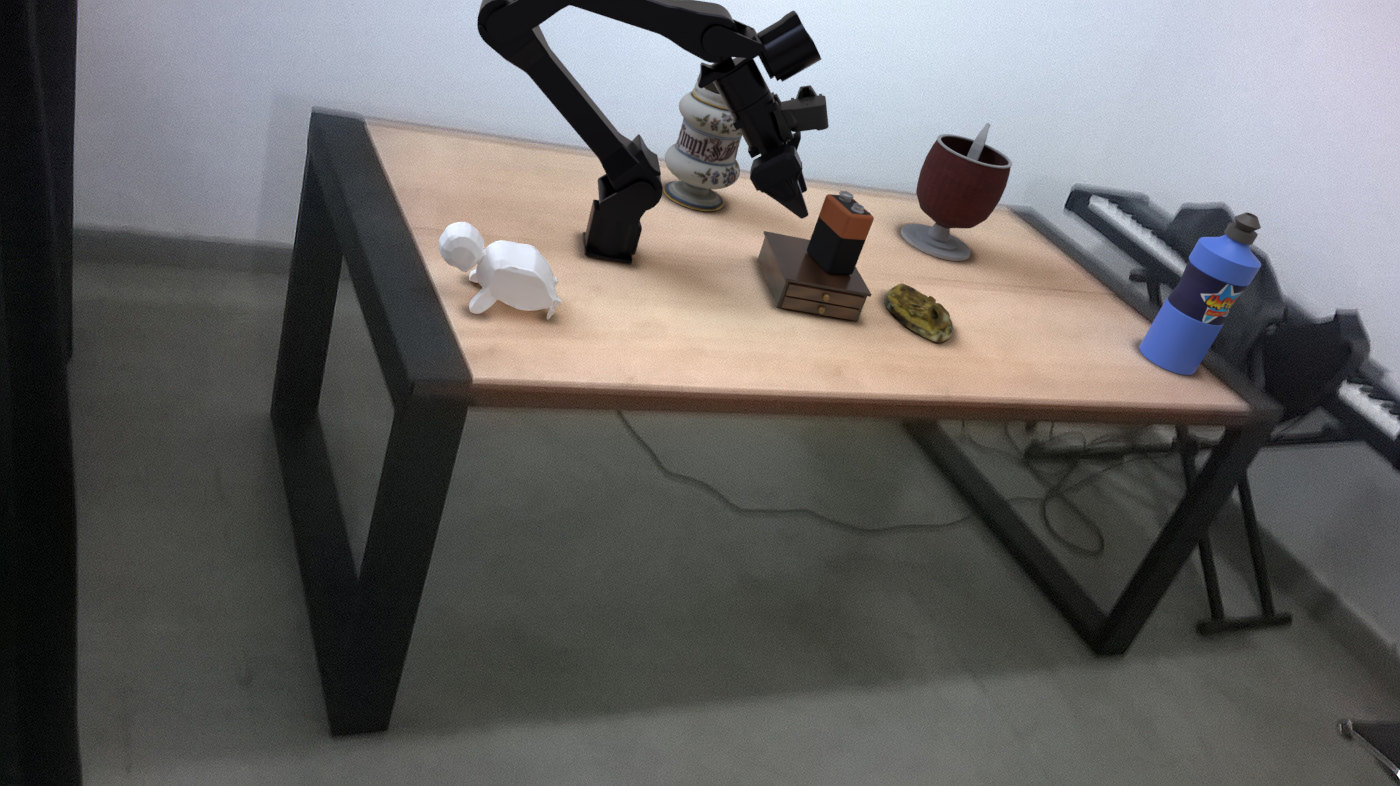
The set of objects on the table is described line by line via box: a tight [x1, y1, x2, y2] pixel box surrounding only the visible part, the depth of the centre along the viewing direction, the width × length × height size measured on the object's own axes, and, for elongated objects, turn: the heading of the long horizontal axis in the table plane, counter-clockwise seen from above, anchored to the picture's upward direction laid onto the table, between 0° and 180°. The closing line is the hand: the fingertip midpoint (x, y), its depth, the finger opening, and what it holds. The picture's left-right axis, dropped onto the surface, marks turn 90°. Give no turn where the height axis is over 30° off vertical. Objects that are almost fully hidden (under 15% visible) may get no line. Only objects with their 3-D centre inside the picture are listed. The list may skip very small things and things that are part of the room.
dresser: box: [756, 230, 872, 322], centre depth 150 cm, size 13×16×5 cm
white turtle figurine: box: [438, 221, 562, 320], centre depth 123 cm, size 9×8×15 cm
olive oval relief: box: [884, 283, 954, 344], centre depth 154 cm, size 9×5×15 cm
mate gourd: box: [900, 122, 1013, 262], centre depth 178 cm, size 16×14×20 cm
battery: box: [807, 190, 875, 275], centre depth 147 cm, size 4×7×10 cm, turn 25°
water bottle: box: [1138, 212, 1262, 376], centre depth 161 cm, size 9×9×25 cm
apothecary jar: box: [663, 81, 743, 212], centre depth 165 cm, size 12×12×18 cm
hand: (804, 204), depth 141 cm, fingers open, 9 cm apart
